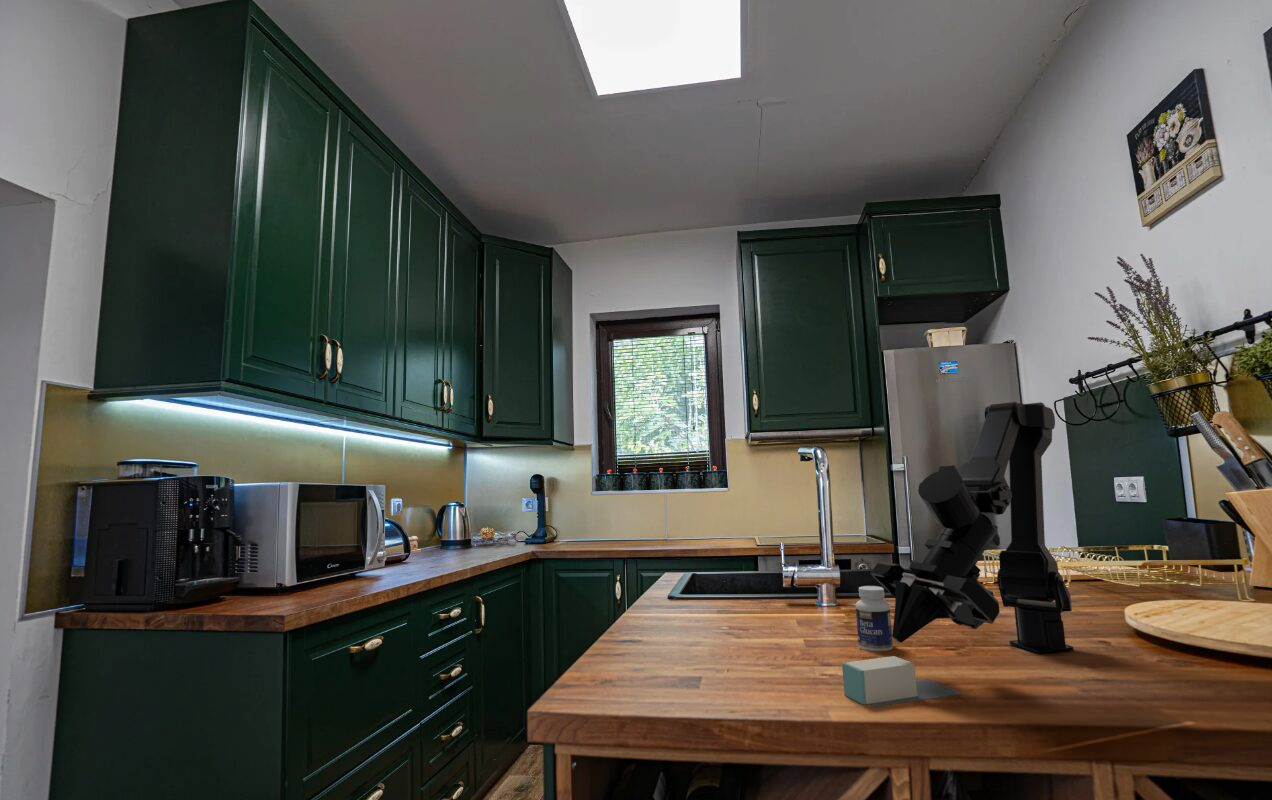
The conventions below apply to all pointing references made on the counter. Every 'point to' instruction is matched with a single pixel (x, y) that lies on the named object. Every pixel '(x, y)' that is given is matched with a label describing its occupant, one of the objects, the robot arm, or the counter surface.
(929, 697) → the slate mat
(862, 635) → the pill bottle
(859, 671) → the cream block
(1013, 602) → the robot arm
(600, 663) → the counter surface
